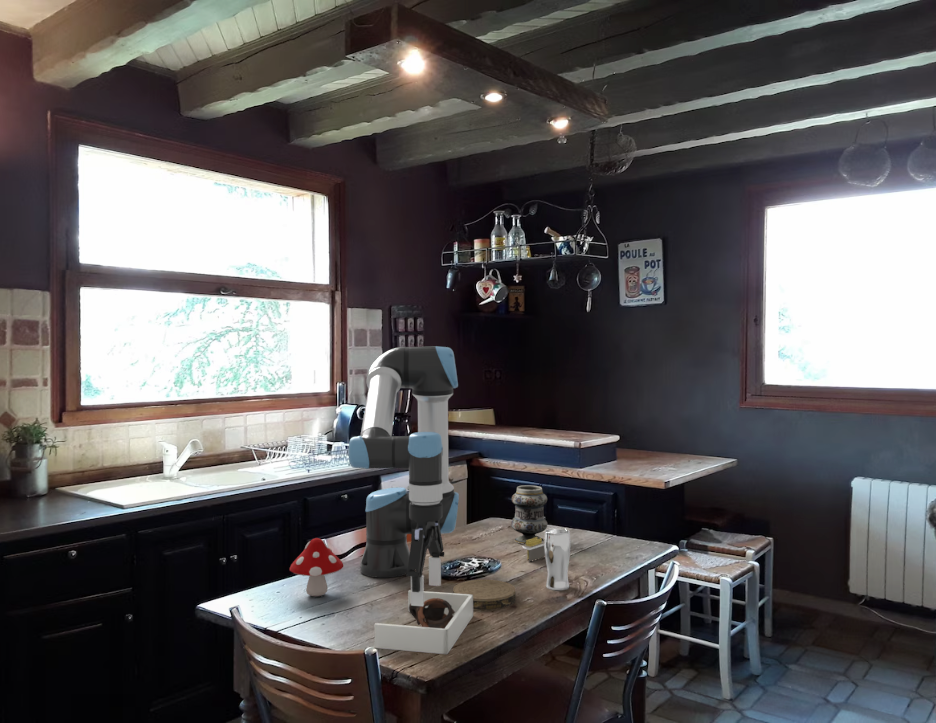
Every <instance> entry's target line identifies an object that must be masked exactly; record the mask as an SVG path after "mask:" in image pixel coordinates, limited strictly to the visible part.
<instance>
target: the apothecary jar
mask: <svg viewBox="0 0 936 723" xmlns="http://www.w3.org/2000/svg"><path fill="white" fill-rule="evenodd" d="M511 502H512V503H513V504H514V505H515V506H514V508H515V511H514V512H515V513H514V517H513V518H512V520H511V522H510V525H511V528H512V529H513V530H514V531H515V532H518V533H520V534H522V535H520V536H517V537H516V538H515V539H514V540H515V541H516V542H519V543H525V544H526V540H529V539H532V538H536V537H537V539H540V538H542V541H543V539H544V538H543V537H540V536H539V535H537V534H541V533H542V532H545V530H547V529H548V521H547V520H546V519H545V516H544V515H545V514H544V509H545V508H544V506H545V505H546V504H547V502H548V497H547V495H546V494H545V493H544V491H543V488H542V486H537V485H519V486H517V487H516V492H515V493H514V494H513V495H512V496H511ZM515 541H514V542H515ZM516 542H515V543H516ZM519 543H518V544H519ZM525 544H524V545H525Z"/></svg>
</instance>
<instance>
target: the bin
mask: <svg viewBox="0 0 936 723" xmlns="http://www.w3.org/2000/svg"><path fill="white" fill-rule="evenodd" d="M432 598H440V599H443V600H445V601H447V602H448V603H449V604H450V605H451V606H452V609H453V610H454V612H455V613H454V614H452V615H453V618H452V619H451V621H450V622H449V623H448V625H447V626H446V627H445V629H442V628H430V627H422V626H419V625H418V626H415V625H405V624H393V623H392V624H391V623H380V622H375V623H374V649H383V650H393V651H394V650H396V651H404V652H405V651H406V652H417V653H418V652H419V653H427V654H428V653H429V654H438V655H439V654H440V655H448V654H449V652H450V651H451V649H452V648H453V647H454V645H455V644H456V642H457V641H458V639H459V638H460V637H461V635H462V633H463V632H464V630H465V628H467V625H468V624H469V623H470V621H471V620H472V619H473V617H474V609H473V595H470V594H456V593H453V592H441V591H440V592H438V591H424V602H425V601H426V600H428V599H432ZM410 604H411V589H409V590H408V591H407V611H408V613H410V611H409V605H410ZM427 607H428V606H426V607H425V608H427ZM444 613H445V614H446V615H448V613H449V610H448V608H445V611H444Z"/></svg>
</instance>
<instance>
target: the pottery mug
mask: <svg viewBox="0 0 936 723" xmlns="http://www.w3.org/2000/svg"><path fill="white" fill-rule="evenodd" d="M426 606H428V607H427V608H425V607H426ZM445 608H448V610H449V613H448V615H446V614H445V613H444V611H445ZM409 611H410V612H409V613H410V614H411V616H412V617H413V618H414V619H415V620H416V624H417V625H418V626H421V627H430V628H442V629H445V627H446V626H447V625H448V623H449V622H450V621H451V619H452V618H453V616H454V615H452V614H454V613H455V612H454V610H453V609H452V606H451V605H450V604H449V603H448V602H447V601H445V600H443V599H440V598H432V599H428V600H426V601H425V602H424V606H412V605H411V604H410V605H409Z"/></svg>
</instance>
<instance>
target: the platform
mask: <svg viewBox="0 0 936 723" xmlns="http://www.w3.org/2000/svg"><path fill="white" fill-rule="evenodd" d="M542 538H543V537H540V539H537V537H536V538H532V539H529V540H526V544H521V545H522V548H523V549H524V550H527V551H526V555H527V556H526V557H527V559H526V560H527V561H528V559H529V561H528V563H531V562H530V561H532V560H535V559H538V558H541V557H544V556H545V551H544V541H542ZM544 558H545V557H544ZM541 559H542V558H541ZM538 560H539V559H538ZM535 561H536V560H535ZM532 562H533V561H532Z"/></svg>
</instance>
